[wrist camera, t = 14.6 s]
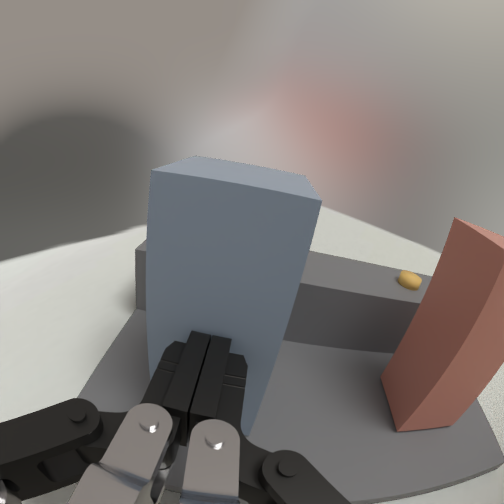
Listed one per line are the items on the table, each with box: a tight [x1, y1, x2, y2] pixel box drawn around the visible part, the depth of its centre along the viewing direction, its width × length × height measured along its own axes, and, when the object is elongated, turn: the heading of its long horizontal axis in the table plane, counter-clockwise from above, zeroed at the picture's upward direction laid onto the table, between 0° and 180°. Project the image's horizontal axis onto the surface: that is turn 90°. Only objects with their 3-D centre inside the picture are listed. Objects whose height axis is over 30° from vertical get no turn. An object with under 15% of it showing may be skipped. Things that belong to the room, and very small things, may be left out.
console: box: [77, 239, 504, 504], centre depth 17 cm, size 28×19×7 cm
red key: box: [380, 217, 504, 432], centre depth 13 cm, size 5×5×12 cm
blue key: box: [146, 156, 322, 436], centre depth 13 cm, size 5×5×12 cm
